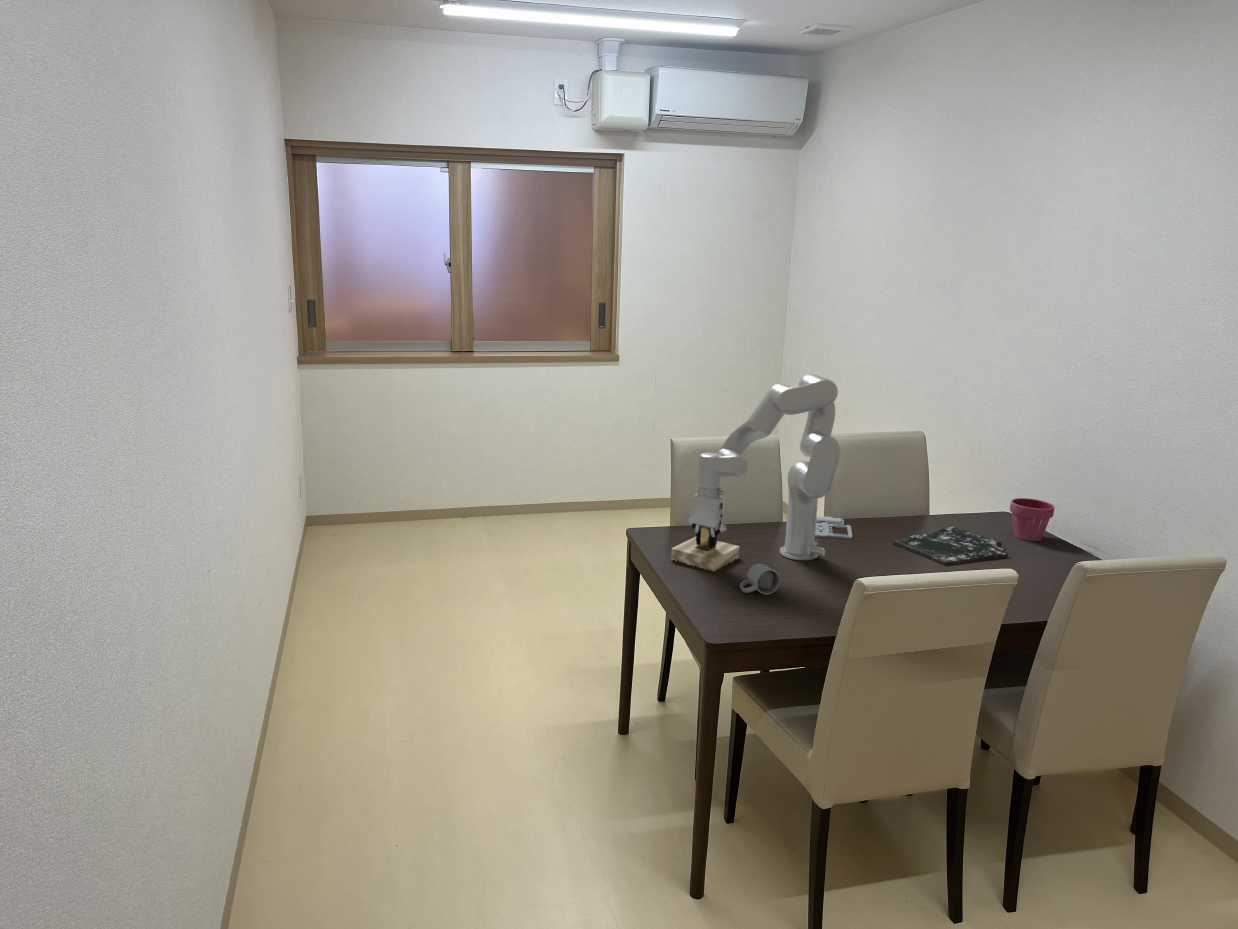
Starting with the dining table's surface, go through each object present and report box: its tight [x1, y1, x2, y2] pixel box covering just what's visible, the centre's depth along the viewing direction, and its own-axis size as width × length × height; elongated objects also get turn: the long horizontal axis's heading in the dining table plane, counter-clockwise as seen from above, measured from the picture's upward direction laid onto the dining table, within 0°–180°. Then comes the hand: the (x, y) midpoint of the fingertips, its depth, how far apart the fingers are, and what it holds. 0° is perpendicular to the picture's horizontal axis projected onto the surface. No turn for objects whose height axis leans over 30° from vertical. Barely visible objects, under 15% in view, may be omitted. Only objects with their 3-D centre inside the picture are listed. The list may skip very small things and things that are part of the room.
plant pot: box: [1009, 497, 1055, 542], centre depth 308 cm, size 14×14×13 cm
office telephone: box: [815, 515, 853, 540], centre depth 314 cm, size 23×3×20 cm
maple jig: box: [670, 536, 740, 572], centre depth 279 cm, size 16×16×4 cm
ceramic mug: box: [739, 563, 781, 595], centre depth 254 cm, size 11×8×8 cm
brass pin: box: [700, 526, 712, 551], centre depth 278 cm, size 4×4×8 cm
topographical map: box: [892, 526, 1009, 566], centre depth 295 cm, size 26×33×3 cm
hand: (706, 545), depth 278 cm, fingers closed on brass pin, 4 cm apart
